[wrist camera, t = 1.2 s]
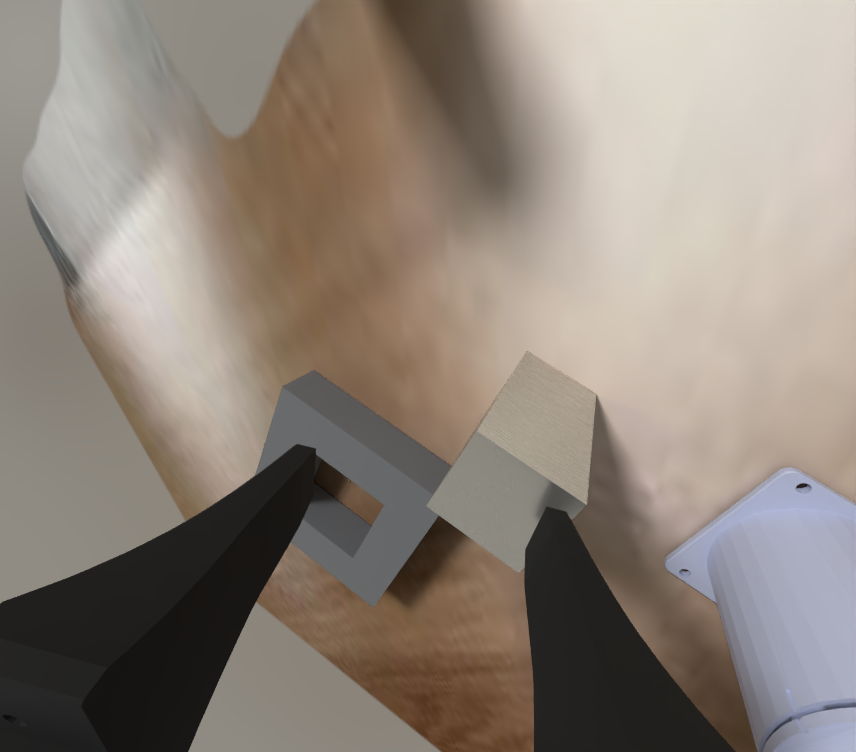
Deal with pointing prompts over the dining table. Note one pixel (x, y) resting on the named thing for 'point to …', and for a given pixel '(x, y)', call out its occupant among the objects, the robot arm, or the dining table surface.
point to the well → (369, 469)
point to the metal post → (521, 461)
